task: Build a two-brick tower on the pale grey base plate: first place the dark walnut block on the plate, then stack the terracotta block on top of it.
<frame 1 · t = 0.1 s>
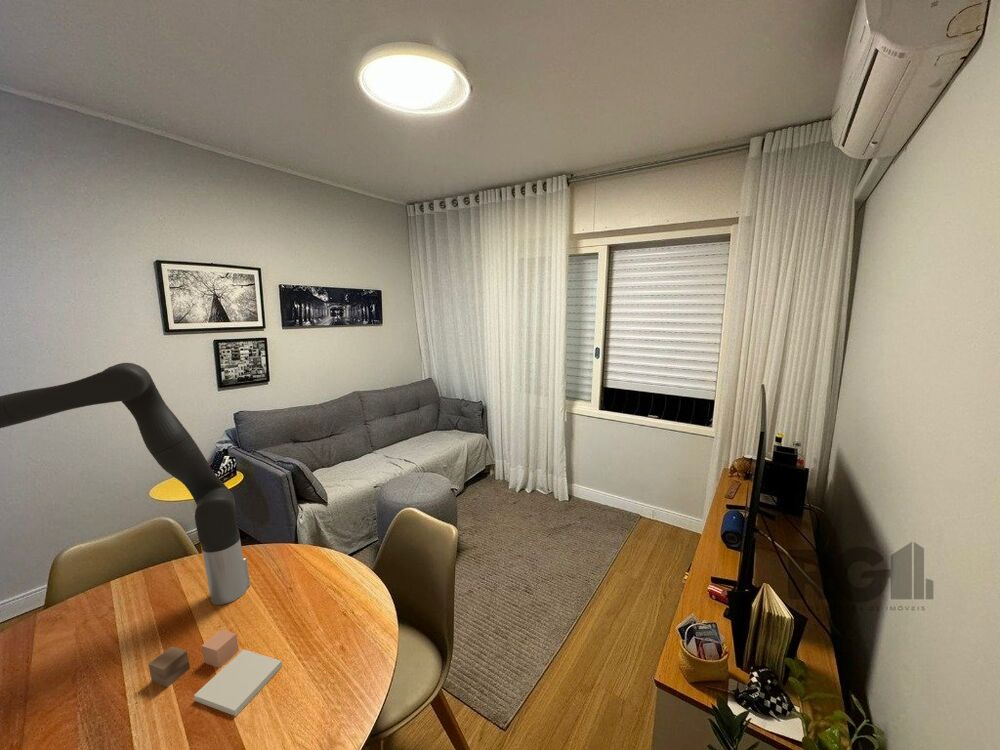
base plate: (240, 682, 88), on the table
walnut brick: (171, 675, 91), on the table
terracotta brick: (222, 656, 95), on the table
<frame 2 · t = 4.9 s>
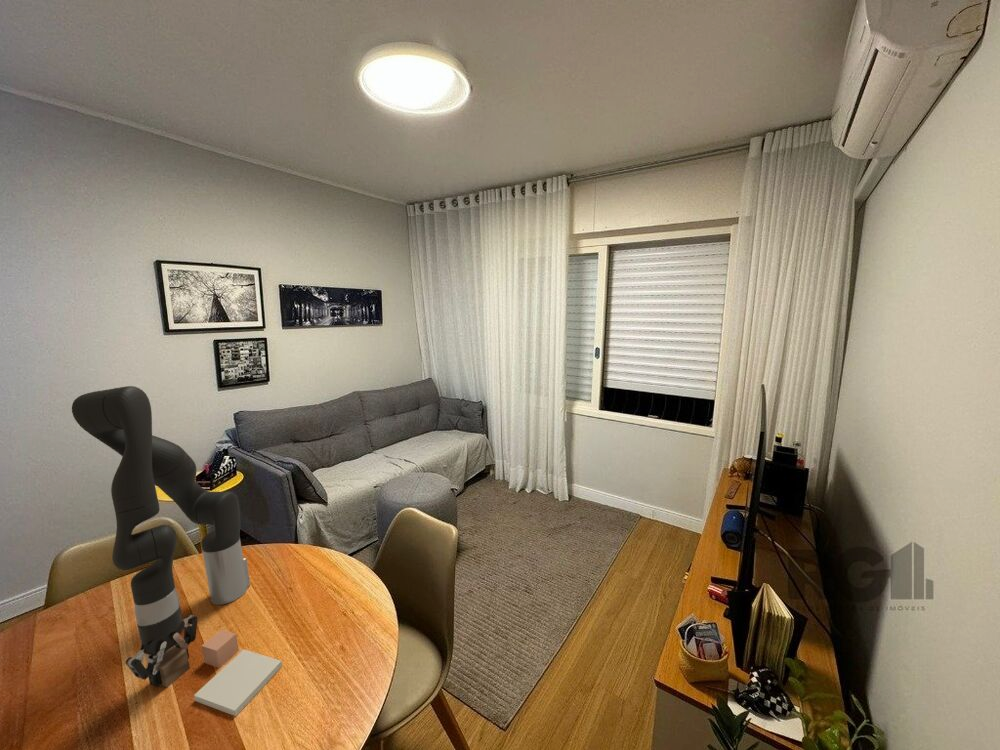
hand: (170, 673, 91), 0 cm above the table, tool pointing down, fingers closed on walnut brick, 5 cm apart
walnut brick: (171, 675, 91), on the table, touching gripper
everything else where it was.
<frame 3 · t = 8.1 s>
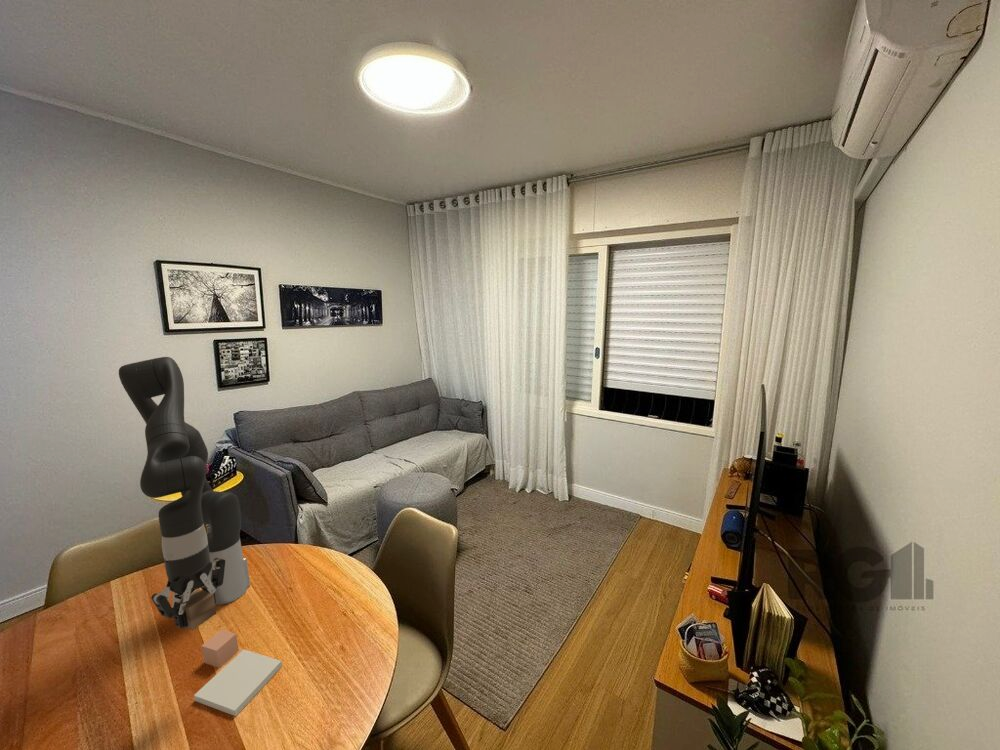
hand: (196, 616, 85), 18 cm above the table, tool pointing down, fingers closed on walnut brick, 5 cm apart
walnut brick: (197, 618, 85), point 17 cm above the table, touching gripper
everything else where it was.
when the fingers open (3 cm above the table, at t = 11.7 s): walnut brick drops 1 cm, resting on base plate.
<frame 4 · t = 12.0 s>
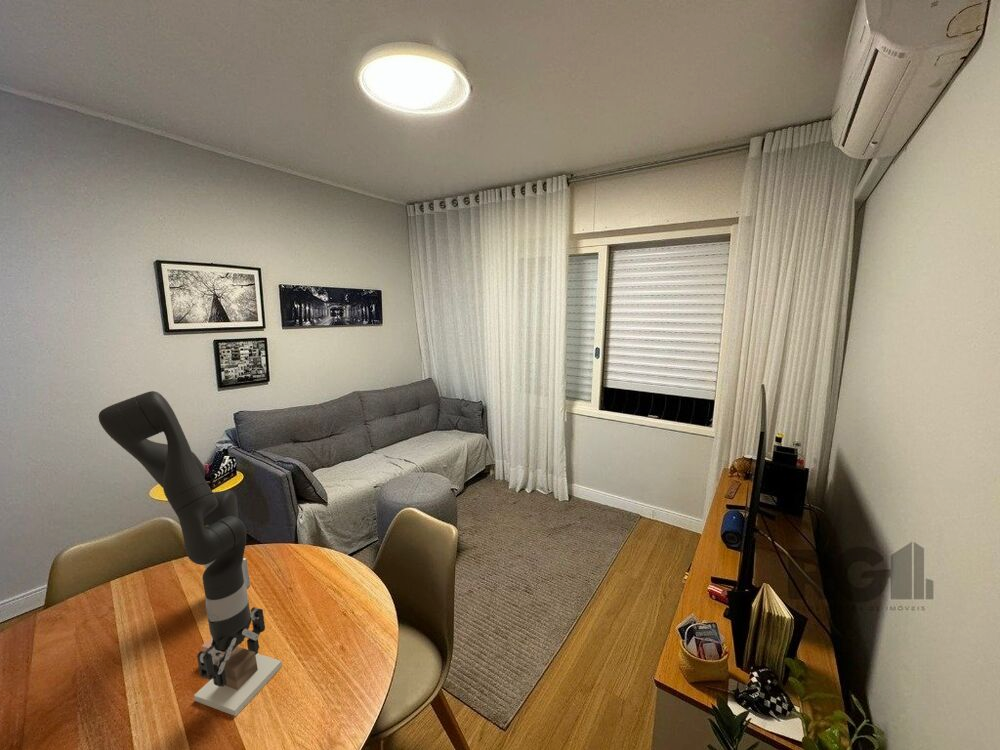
hand: (238, 668, 88), 4 cm above the table, tool pointing down, fingers open, 7 cm apart
walnut brick: (239, 677, 88), point 1 cm above the table, touching base plate
everything else where it was.
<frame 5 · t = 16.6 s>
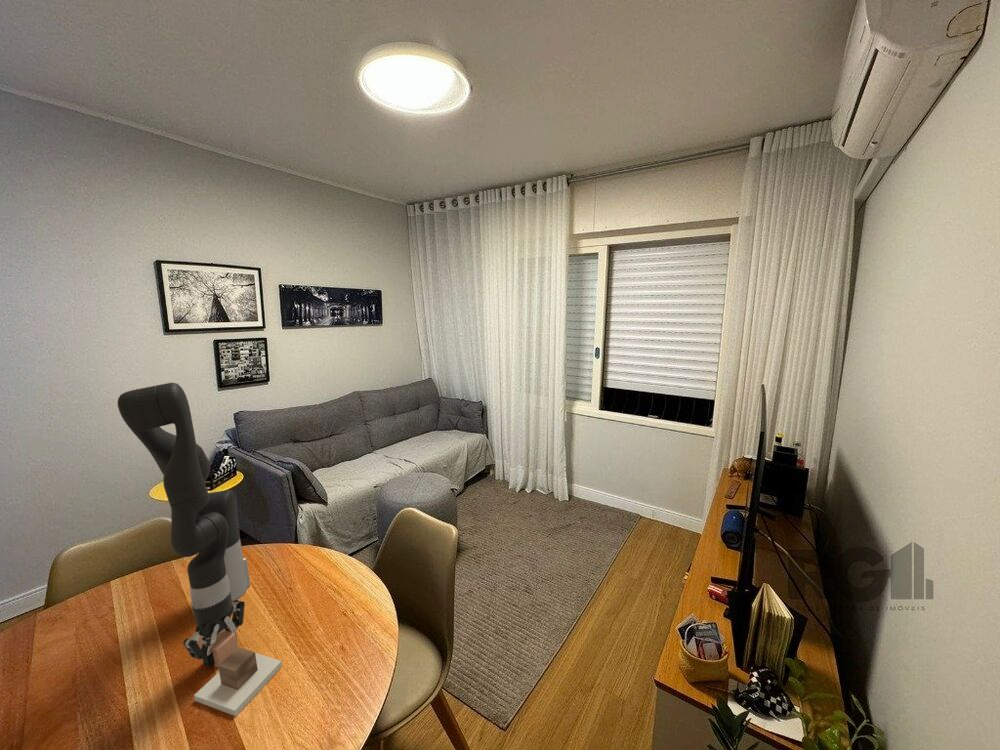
hand: (221, 655, 95), 0 cm above the table, tool pointing down, fingers closed on terracotta brick, 5 cm apart
terracotta brick: (221, 656, 95), on the table, touching gripper
everything else where it was.
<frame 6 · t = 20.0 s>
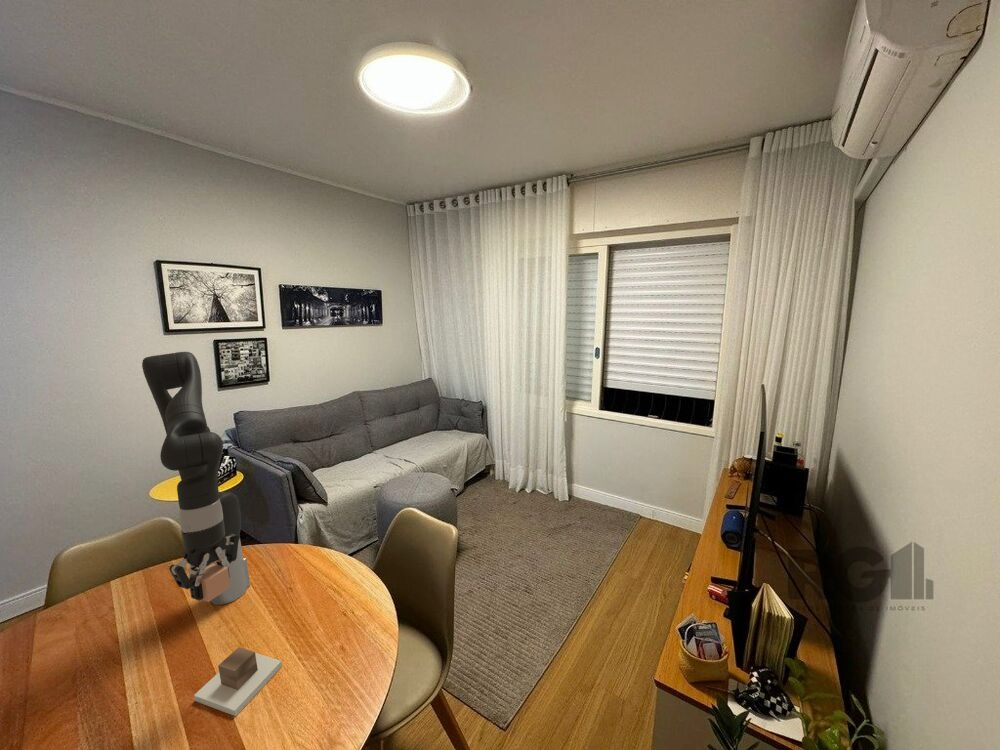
hand: (211, 590, 87), 22 cm above the table, tool pointing down, fingers closed on terracotta brick, 5 cm apart
terracotta brick: (211, 592, 87), point 22 cm above the table, touching gripper
everything else where it was.
when the fingers open (8 cm above the table, at t = 23.3 s): terracotta brick drops 1 cm, resting on walnut brick.
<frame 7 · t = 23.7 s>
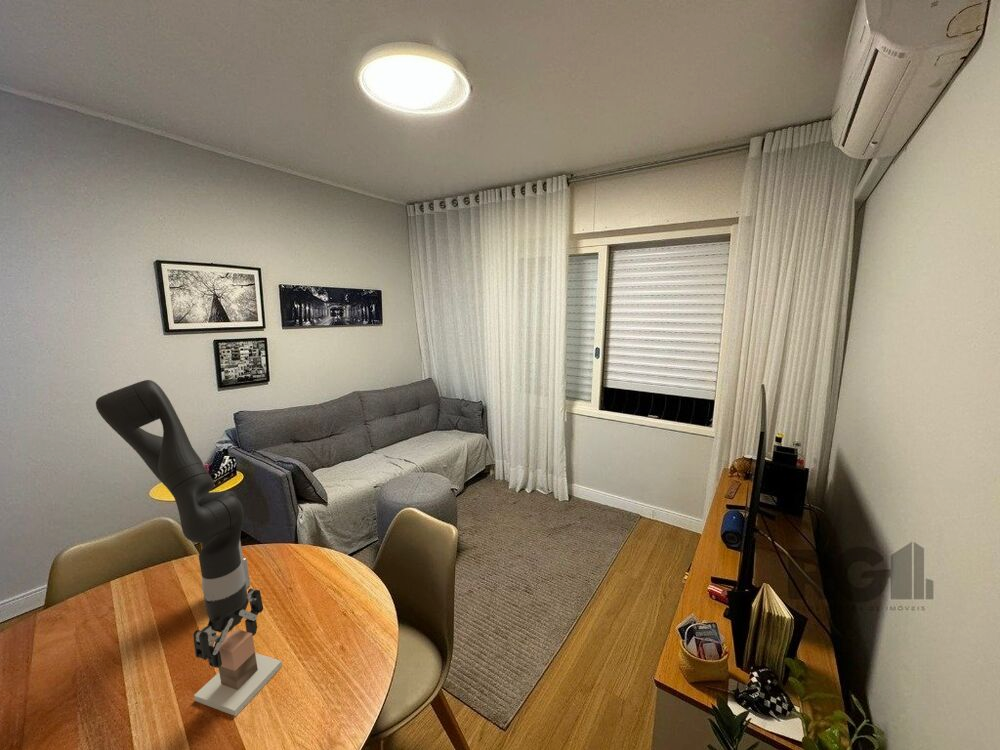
hand: (235, 649, 87), 9 cm above the table, tool pointing down, fingers open, 8 cm apart
walnut brick: (239, 677, 88), point 1 cm above the table, touching base plate, terracotta brick
terracotta brick: (236, 658, 87), point 6 cm above the table, touching walnut brick
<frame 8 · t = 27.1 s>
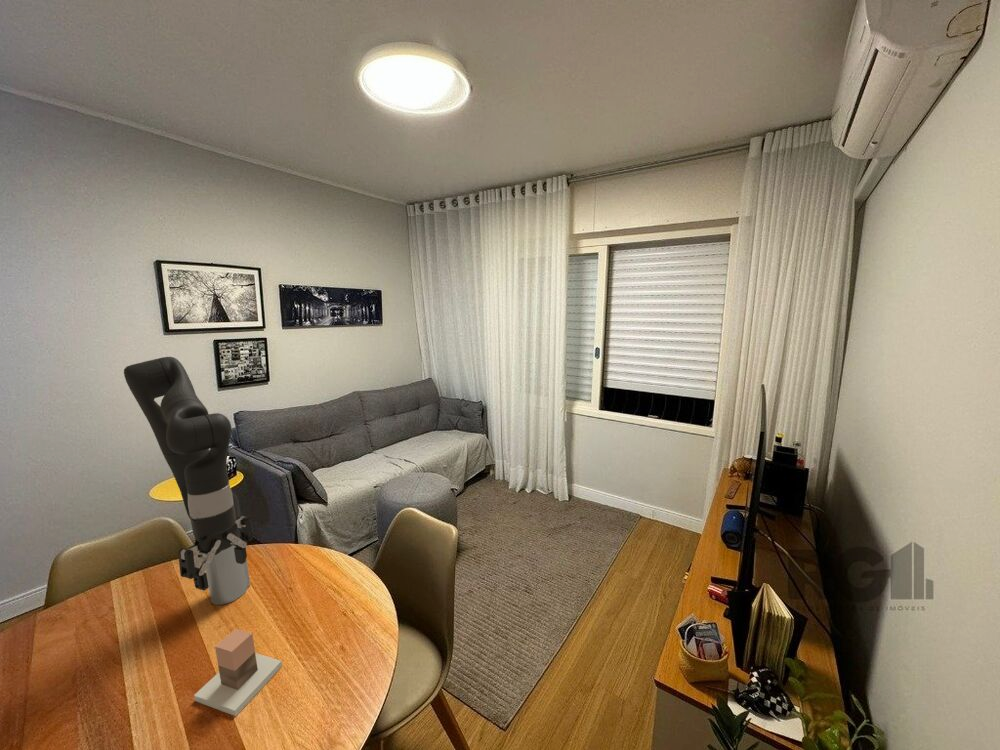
hand: (223, 575, 84), 28 cm above the table, tool pointing down, fingers open, 8 cm apart
nothing on the table moved.
at the end: walnut brick 0.1 cm off-centre on the base plate, point 1.5 cm above the base plate's base; terracotta brick 0.0 cm off-centre on the walnut brick, point 5.0 cm above the walnut brick's base; terracotta brick tilted 0° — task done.
